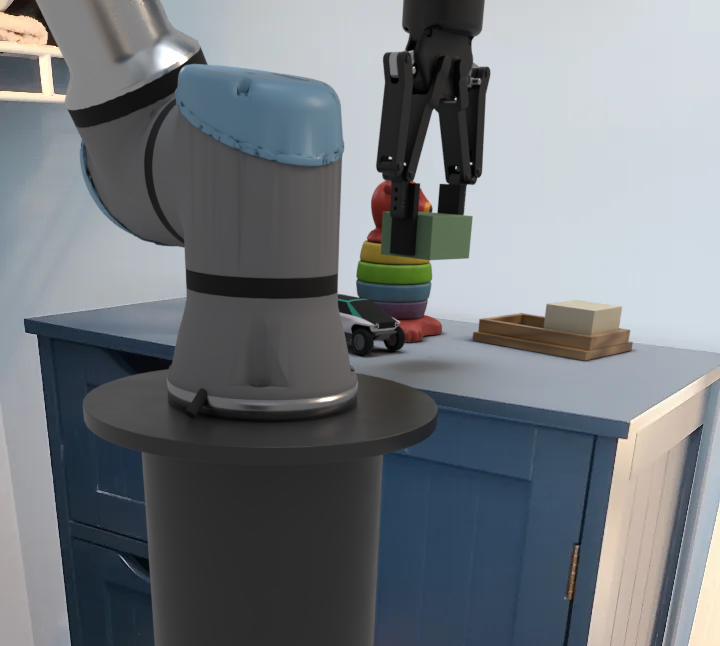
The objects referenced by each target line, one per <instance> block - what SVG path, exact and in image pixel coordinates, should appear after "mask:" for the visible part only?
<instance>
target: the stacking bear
mask: <svg viewBox="0 0 720 646" xmlns="http://www.w3.org/2000/svg"><path fill="white" fill-rule="evenodd" d="M411 183H416V181H415V180H413V181H412V182H411ZM390 199H391V181H387V180H383V181H382V182H381V183H379V184H378V185H377V186H376V188H375V189H374V191H373V193H372V195H371V199H370V209H371V217H372V220H373V223H374V226H375V228H374V229H372V230H371V231H369V232H368V235H367V236H366V240H364V241H363V243H362V245H361V249H360V253H359V260H358V261H357V267H356V278H357V279H356V280H355V283H356V284H355V287H356V294H357V297H358V298H363V299H368V300H372V301H373V302H374V303H376V304H377V305H378V306H379V307H380V308H382V309H383V310H384V311H385V312H386V313H388V314H389V315H390V316H391V317H393V318H394V319H396V320H398V321H399V322H400V324H398V326H400V327H401V328H402V329H403V331H404V334H405V343H415V342H420V341H422V340H423V338H424V337H425V336H436V335H439V334H441V333H442V332H443V324H442V323H441V322H440V321H439V320H438V319H436V318H435V317H433V316H430V315H426V311H427V307H428V303H429V300H428V299H430V295H431V290H432V280H433V267H432V263H431V260H423V259H415V258H407V257H399V256H391V255H383V254H381V239H382V220H383V212H390V201H391V200H390ZM418 212H431V213H433V205H432V203H431V202H430V200H429V199H428V198H427V197H426V195H425V194H424V191H423V189H422V187H420V194H419V209H418Z"/></svg>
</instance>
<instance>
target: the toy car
mask: <svg viewBox="0 0 720 646" xmlns="http://www.w3.org/2000/svg"><path fill="white" fill-rule="evenodd" d="M338 308H339V313H340V317H341V321H342V325H343V329H344V333H345V338H346V340H351V347H352V349H353V351H354V352H355V353H356V354H357V355H360V356H366V355H368V354H370V353H371V352H372V351H373V348H374V345H375V342H376V341H383V344H384V346H385V348H386V349H387V350H388V351H392V352H397V351H400V350H401V349H403V347H404V345H405V343H406V342H405V334H404V331H403V329H402V328H401V327H400V326H398V324H400V322H399V321H398V320H396V319H394V318H393V317H391V316H390V315H389V314H388V313H386V312H385V311H384V310H383V309H382V308H380V307H379V306H378V305H377V304H376V303H374V302H373V301H372V300H368V299H363V298H359V296H354V295H353V296H352V295H348V294H342V293H338Z"/></svg>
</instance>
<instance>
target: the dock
mask: <svg viewBox="0 0 720 646" xmlns="http://www.w3.org/2000/svg"><path fill="white" fill-rule="evenodd" d="M544 321H545V315H544V316H543V315H537V314H530V313H523V312H519V313H511V314H506V315H498V316H497V315H496V316H490V317H484V318H479V319H478V330H477V331H473V332H472V341H474V342H480V343H485V344H490V345H496V346H502V347H507V348H513V349H519V350H523V351H529V352H536V353H540V354H546V355H551V356H557V357H563V358H567V359H572V360H573V359H574V360H579V361H584V362H585V361H589V360H595V359H599V358H603V357H608V356H613V355H617V354H621V353H622V354H623V353H626V352H631V351H632V349H633V344H634V343H633V341H630V335H631V329H628V328H622V327H621V328H620V327H619V330H617V331H612V332H606V333H601V334H596V335H590V336H588V335H582V334H575V333H569V332H563V331H557V330H551V329H545V328H544Z"/></svg>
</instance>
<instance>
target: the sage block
mask: <svg viewBox="0 0 720 646" xmlns="http://www.w3.org/2000/svg"><path fill="white" fill-rule="evenodd" d="M391 225H392V217H391V216H390V212H383V220H382V239H381V254H383V255H391V256H399V257H407V258H415V259H423V260H430V261H443V260H444V261H445V260H463V259H466V260H467V259H469V258H470V251H471V250H470V249H471V240H472V228H473V216H472V215H465V214H464V215H454V214H443V213H437V212H432V213H431V212H418V219H417V234H416V248H415V256H407V255H399V254H391V253H390V241H391Z"/></svg>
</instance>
